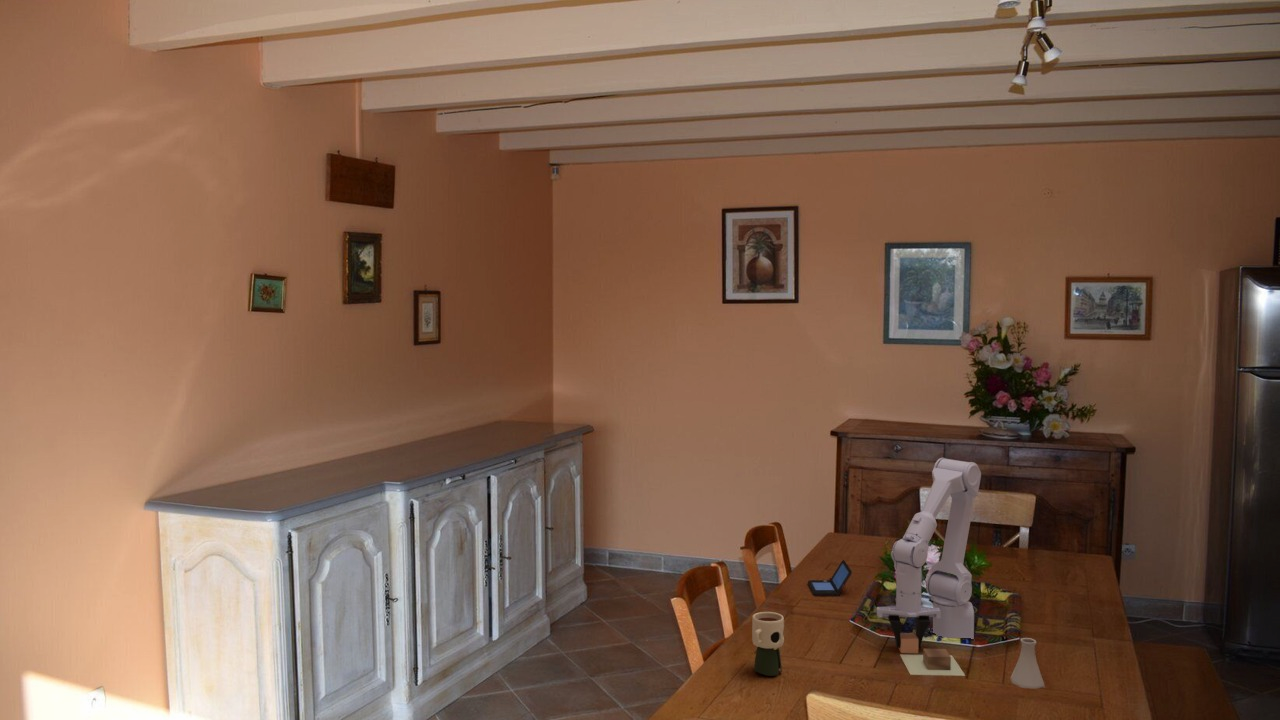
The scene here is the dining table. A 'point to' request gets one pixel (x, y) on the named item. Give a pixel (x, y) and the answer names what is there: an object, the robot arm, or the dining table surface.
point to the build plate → (919, 668)
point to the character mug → (767, 642)
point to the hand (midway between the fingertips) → (908, 646)
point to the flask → (1027, 667)
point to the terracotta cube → (909, 643)
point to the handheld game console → (831, 582)
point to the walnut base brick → (936, 659)
